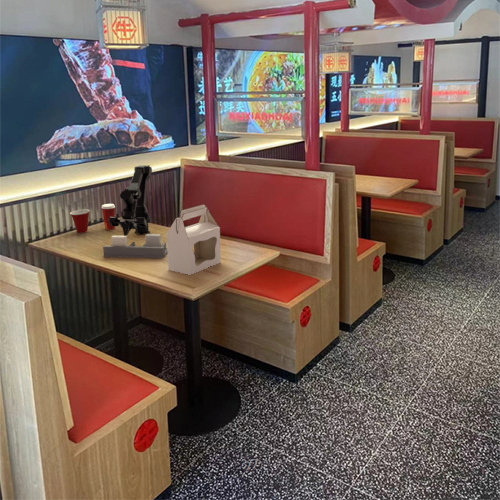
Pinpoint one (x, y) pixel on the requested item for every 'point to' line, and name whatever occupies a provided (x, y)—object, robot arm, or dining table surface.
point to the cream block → (119, 240)
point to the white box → (153, 240)
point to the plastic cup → (80, 220)
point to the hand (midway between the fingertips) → (125, 236)
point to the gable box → (193, 242)
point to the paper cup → (108, 215)
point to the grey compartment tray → (135, 251)
